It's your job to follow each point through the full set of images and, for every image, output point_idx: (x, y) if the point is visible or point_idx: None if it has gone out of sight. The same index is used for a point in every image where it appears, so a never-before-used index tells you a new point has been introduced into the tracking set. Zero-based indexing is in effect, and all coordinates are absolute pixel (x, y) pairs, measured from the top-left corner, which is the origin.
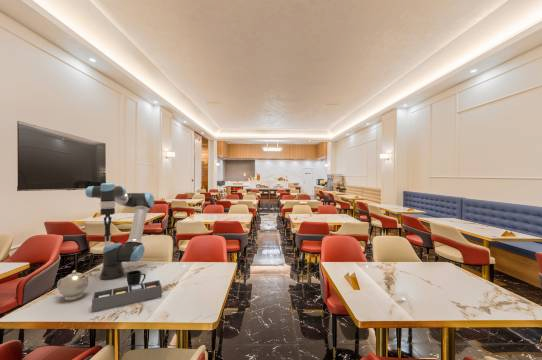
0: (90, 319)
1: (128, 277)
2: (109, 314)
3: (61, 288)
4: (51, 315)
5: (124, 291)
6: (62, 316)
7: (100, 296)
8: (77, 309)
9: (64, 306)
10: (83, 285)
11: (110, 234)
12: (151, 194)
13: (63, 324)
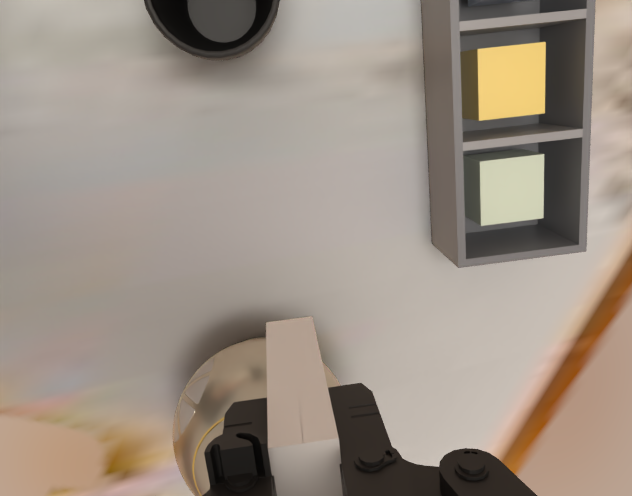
0: (626, 219)
1: (261, 40)
2: (624, 128)
3: None
4: (466, 415)
5: (482, 57)
6: (508, 362)
7: (491, 214)
8: (455, 315)
9: (375, 391)
10: None
11: (265, 454)
12: None
13: (606, 331)
